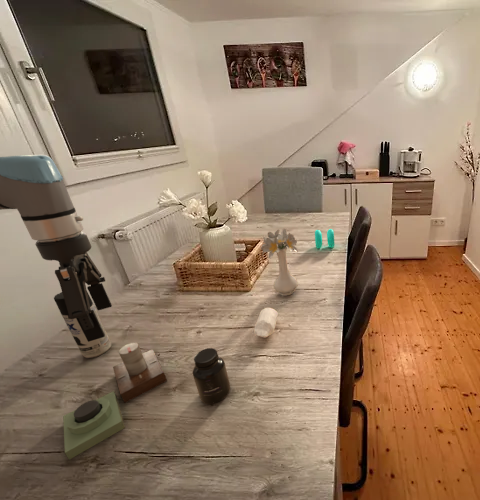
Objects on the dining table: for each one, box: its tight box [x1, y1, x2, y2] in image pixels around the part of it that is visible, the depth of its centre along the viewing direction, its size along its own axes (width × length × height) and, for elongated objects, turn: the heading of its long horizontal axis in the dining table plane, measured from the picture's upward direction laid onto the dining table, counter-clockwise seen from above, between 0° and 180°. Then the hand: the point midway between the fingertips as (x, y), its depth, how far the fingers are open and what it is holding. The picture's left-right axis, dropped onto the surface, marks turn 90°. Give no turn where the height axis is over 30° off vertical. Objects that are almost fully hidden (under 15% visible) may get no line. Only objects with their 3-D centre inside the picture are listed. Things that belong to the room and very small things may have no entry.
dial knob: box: [118, 342, 147, 375], centre depth 71 cm, size 4×4×7 cm
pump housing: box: [62, 390, 126, 460], centre depth 61 cm, size 11×9×4 cm
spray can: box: [53, 291, 112, 359], centre depth 79 cm, size 7×7×20 cm
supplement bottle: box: [192, 347, 231, 405], centre depth 66 cm, size 7×7×12 cm
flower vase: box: [260, 228, 299, 297], centre depth 106 cm, size 13×18×25 cm
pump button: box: [74, 399, 101, 423], centre depth 60 cm, size 4×4×2 cm
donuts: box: [314, 228, 335, 249], centre depth 150 cm, size 10×10×10 cm
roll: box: [253, 307, 279, 338], centre depth 87 cm, size 6×12×6 cm, turn 5°
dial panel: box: [112, 348, 168, 404], centre depth 73 cm, size 12×9×3 cm
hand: (101, 322), depth 65 cm, fingers open, 13 cm apart
